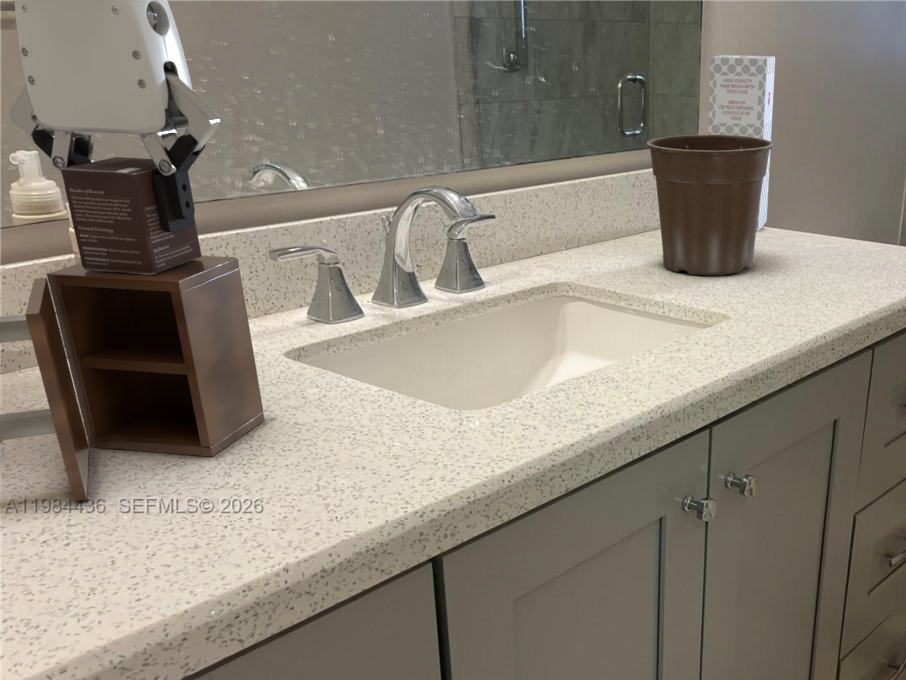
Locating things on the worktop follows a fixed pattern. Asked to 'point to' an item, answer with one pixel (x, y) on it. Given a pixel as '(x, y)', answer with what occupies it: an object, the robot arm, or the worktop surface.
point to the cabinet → (160, 355)
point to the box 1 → (123, 218)
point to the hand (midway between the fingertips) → (136, 224)
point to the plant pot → (709, 200)
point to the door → (49, 387)
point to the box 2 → (743, 104)
